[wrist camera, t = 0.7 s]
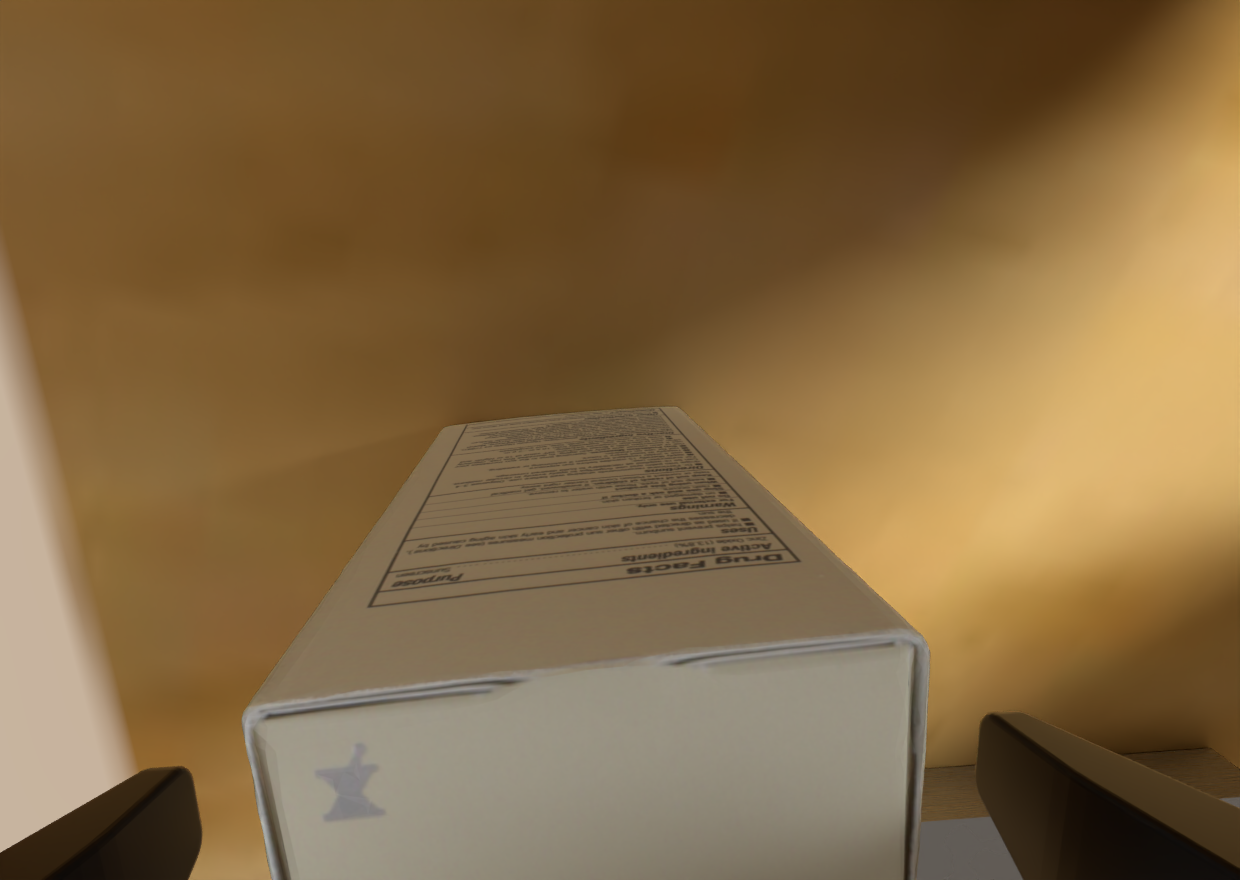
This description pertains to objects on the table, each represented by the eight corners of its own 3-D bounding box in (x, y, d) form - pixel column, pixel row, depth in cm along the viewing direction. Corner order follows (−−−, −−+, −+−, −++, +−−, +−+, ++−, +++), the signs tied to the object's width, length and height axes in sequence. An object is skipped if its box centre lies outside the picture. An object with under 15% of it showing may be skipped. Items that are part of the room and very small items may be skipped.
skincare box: (460, 582, 19) (277, 1112, 7) (440, 420, 18) (187, 711, 6) (702, 559, 19) (929, 1027, 7) (695, 401, 18) (946, 637, 6)
